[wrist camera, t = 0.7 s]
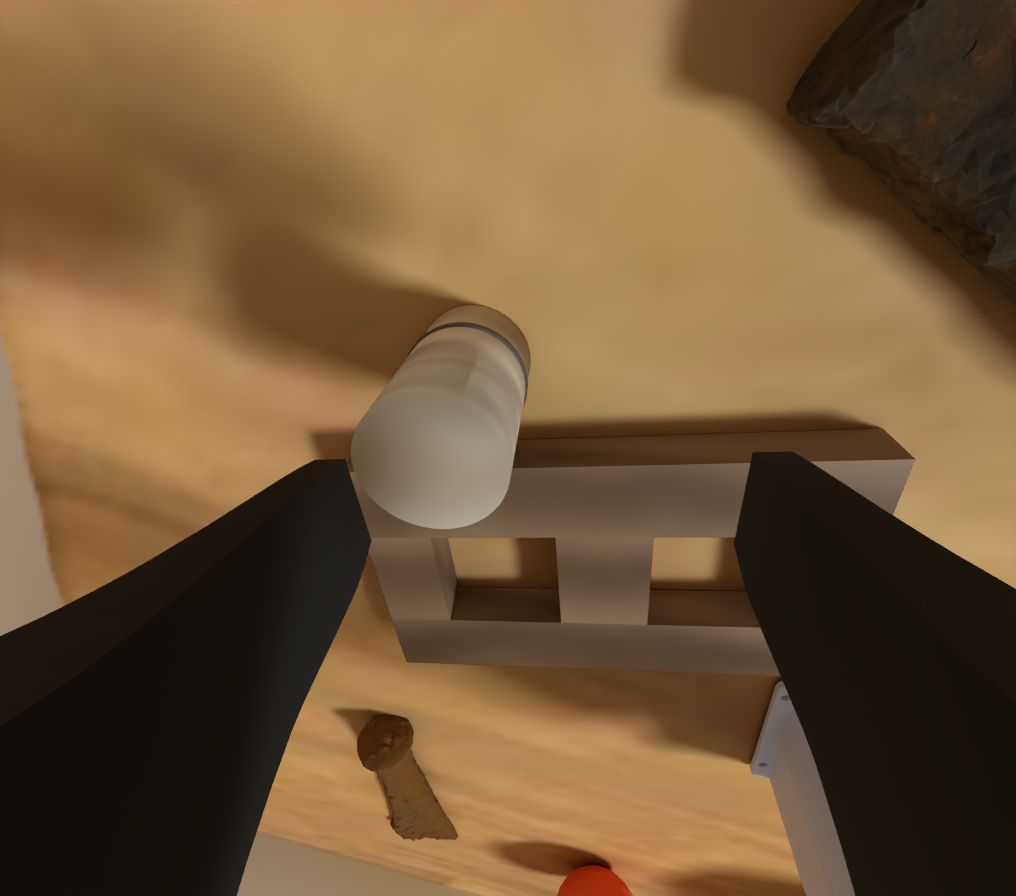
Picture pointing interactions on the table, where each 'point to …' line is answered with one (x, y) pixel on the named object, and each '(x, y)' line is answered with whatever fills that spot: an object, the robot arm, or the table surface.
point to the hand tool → (929, 115)
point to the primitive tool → (403, 779)
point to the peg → (447, 422)
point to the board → (608, 552)
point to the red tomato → (593, 883)
